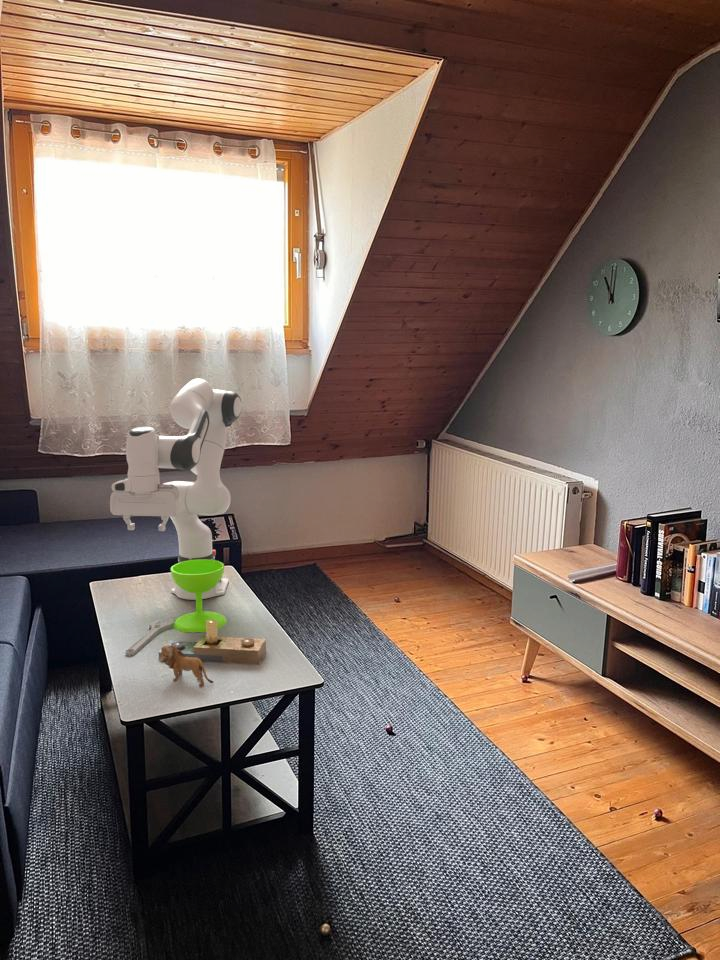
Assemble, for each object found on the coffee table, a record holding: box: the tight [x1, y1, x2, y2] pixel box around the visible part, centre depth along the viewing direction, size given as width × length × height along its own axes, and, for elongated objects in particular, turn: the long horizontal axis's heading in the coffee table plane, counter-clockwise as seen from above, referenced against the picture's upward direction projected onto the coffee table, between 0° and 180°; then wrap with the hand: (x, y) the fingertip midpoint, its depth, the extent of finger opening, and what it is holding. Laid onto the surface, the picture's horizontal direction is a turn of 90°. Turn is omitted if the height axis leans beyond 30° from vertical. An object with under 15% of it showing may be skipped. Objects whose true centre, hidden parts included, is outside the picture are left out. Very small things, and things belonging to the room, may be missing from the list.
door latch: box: [158, 635, 267, 666], centre depth 207 cm, size 8×28×5 cm, turn 82°
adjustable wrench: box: [124, 618, 174, 657], centre depth 219 cm, size 25×6×2 cm, turn 165°
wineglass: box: [170, 559, 227, 633], centre depth 229 cm, size 16×16×18 cm
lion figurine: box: [158, 644, 215, 688], centre depth 191 cm, size 15×5×9 cm, turn 74°
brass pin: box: [205, 620, 219, 646], centre depth 206 cm, size 3×3×10 cm
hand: (146, 530), depth 219 cm, fingers open, 8 cm apart
